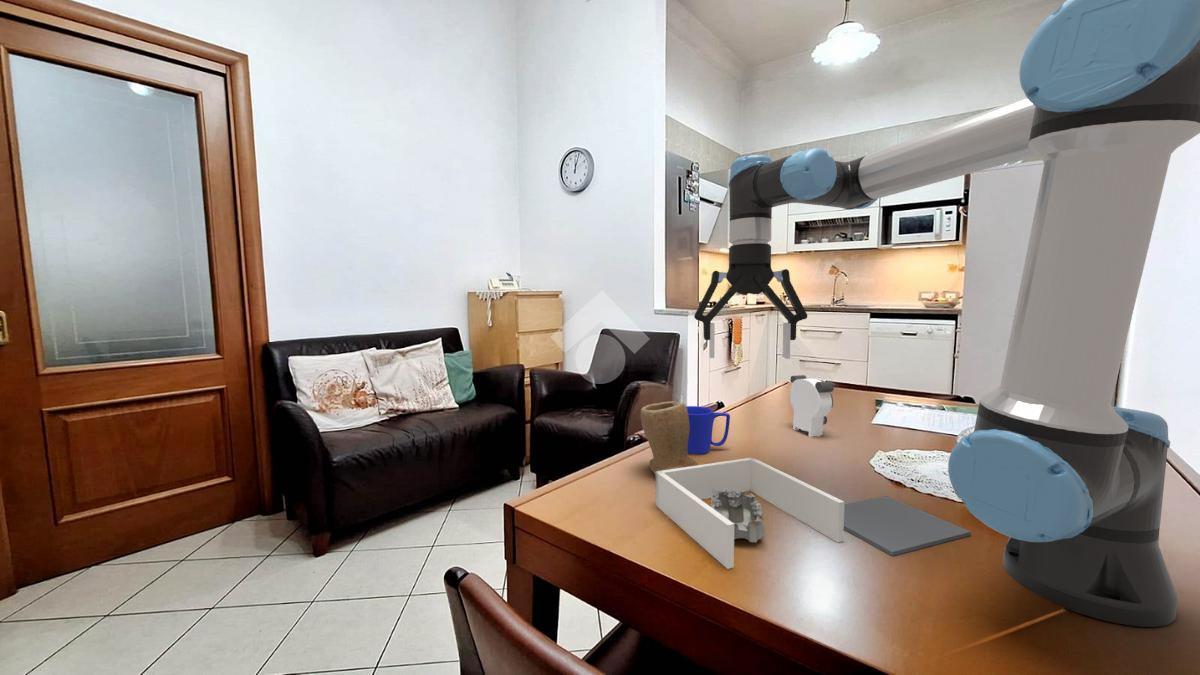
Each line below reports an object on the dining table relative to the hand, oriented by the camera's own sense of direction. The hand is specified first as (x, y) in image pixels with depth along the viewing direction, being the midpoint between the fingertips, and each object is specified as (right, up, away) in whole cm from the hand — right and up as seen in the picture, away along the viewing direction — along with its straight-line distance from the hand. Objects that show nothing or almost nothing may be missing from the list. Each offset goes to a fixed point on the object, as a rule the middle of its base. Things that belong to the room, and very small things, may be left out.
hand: (748, 357), depth 92 cm
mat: (+17, -26, -16) cm, 35 cm away
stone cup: (-14, -24, +5) cm, 28 cm away
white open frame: (-6, -26, -14) cm, 29 cm away
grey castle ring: (-5, -27, -16) cm, 31 cm away
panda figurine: (+25, -22, +32) cm, 46 cm away
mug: (-4, -23, +20) cm, 31 cm away
